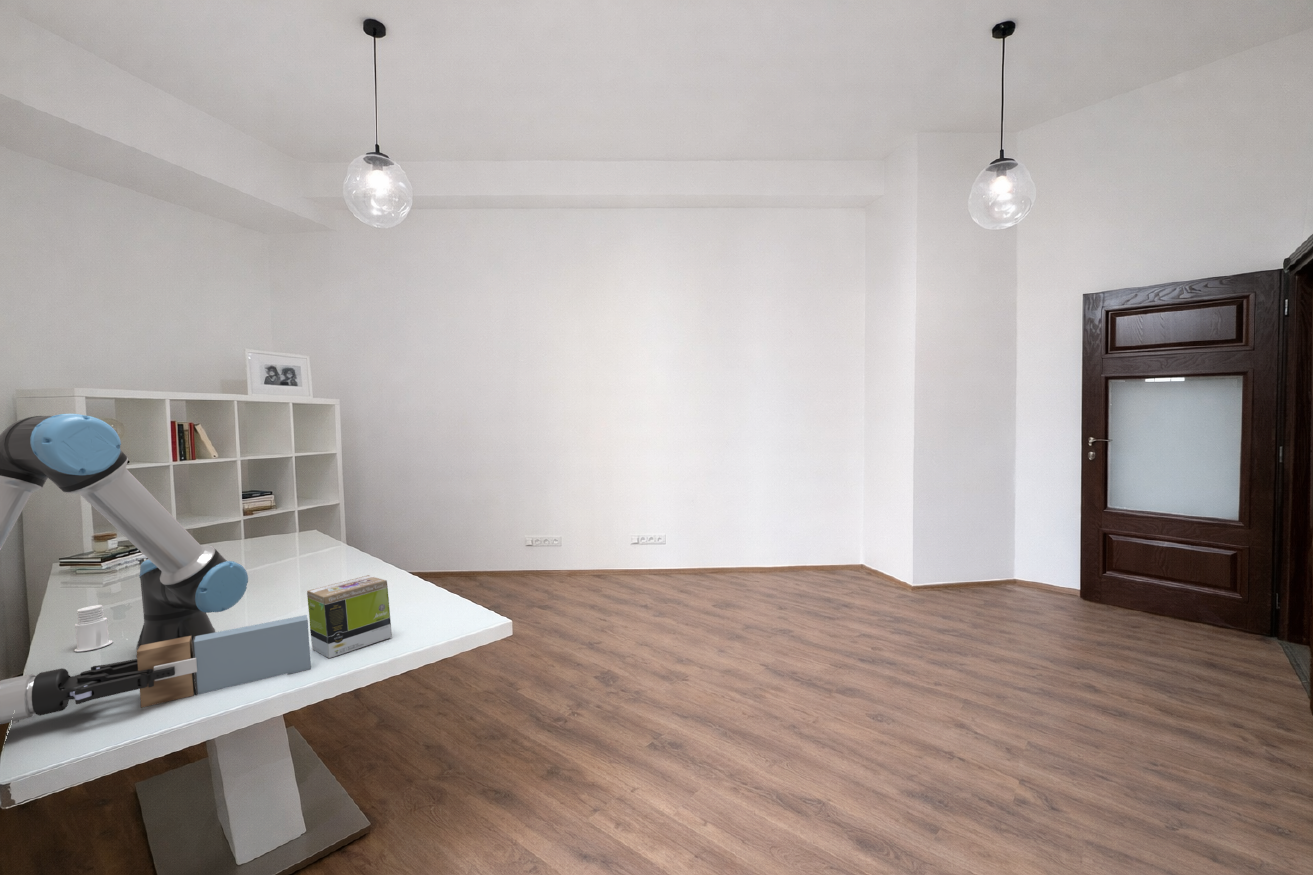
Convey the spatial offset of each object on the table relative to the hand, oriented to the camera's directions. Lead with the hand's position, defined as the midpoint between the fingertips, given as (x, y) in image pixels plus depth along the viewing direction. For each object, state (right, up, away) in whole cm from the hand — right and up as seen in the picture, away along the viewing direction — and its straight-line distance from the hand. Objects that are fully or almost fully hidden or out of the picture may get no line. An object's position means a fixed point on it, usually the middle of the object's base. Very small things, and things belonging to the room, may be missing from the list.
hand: (197, 660), depth 121 cm
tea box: (+20, -5, +23) cm, 31 cm away
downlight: (-48, -7, +28) cm, 56 cm away
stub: (-4, -7, -2) cm, 8 cm away
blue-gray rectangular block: (+8, -6, +6) cm, 12 cm away
